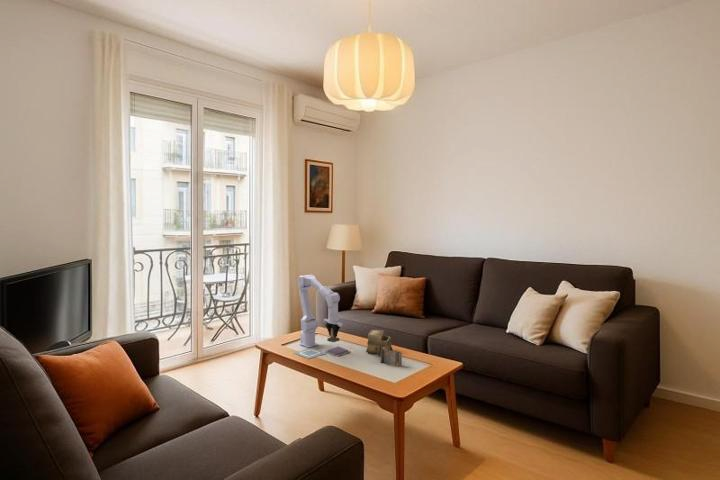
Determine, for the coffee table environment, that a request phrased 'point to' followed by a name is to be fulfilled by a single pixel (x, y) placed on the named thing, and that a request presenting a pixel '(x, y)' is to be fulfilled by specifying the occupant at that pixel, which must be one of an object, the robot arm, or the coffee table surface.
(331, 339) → the wooden stamp
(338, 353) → the ink pad
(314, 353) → the marked board
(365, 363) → the coffee table surface
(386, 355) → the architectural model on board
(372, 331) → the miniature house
